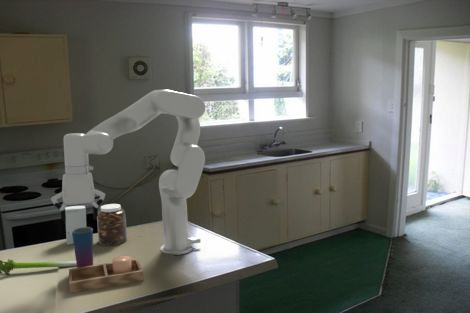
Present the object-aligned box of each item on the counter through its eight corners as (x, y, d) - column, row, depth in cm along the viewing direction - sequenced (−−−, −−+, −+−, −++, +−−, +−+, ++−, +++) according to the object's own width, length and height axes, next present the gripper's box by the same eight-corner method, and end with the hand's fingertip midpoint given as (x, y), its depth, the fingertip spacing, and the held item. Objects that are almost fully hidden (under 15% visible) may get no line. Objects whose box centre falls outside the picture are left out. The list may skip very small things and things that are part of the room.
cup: (89, 276, 147) (86, 233, 145) (71, 275, 148) (67, 232, 146) (99, 268, 153) (96, 227, 151) (82, 267, 155) (78, 226, 153)
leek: (80, 275, 153) (-14, 278, 146) (82, 270, 160) (-7, 273, 153) (80, 258, 153) (-13, 260, 146) (83, 253, 160) (-7, 255, 153)
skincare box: (67, 245, 179) (64, 210, 177) (66, 240, 185) (63, 206, 182) (88, 242, 182) (85, 207, 180) (87, 237, 188) (84, 204, 186)
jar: (133, 240, 183) (130, 205, 181) (108, 247, 174) (106, 211, 172) (116, 234, 191) (114, 201, 189) (92, 242, 182) (90, 207, 180)
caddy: (137, 269, 152) (137, 258, 151) (143, 282, 140) (142, 271, 140) (70, 280, 144) (69, 268, 143) (70, 295, 133) (69, 283, 132)
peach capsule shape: (130, 271, 148) (129, 254, 147) (133, 278, 142) (132, 260, 141) (112, 274, 146) (111, 257, 145) (114, 281, 140) (113, 263, 139)
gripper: (103, 167, 152) (105, 214, 154) (49, 170, 146) (52, 219, 148) (104, 170, 145) (107, 220, 147) (48, 173, 139) (52, 225, 141)
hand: (79, 220), depth 148 cm, fingers open, 9 cm apart
